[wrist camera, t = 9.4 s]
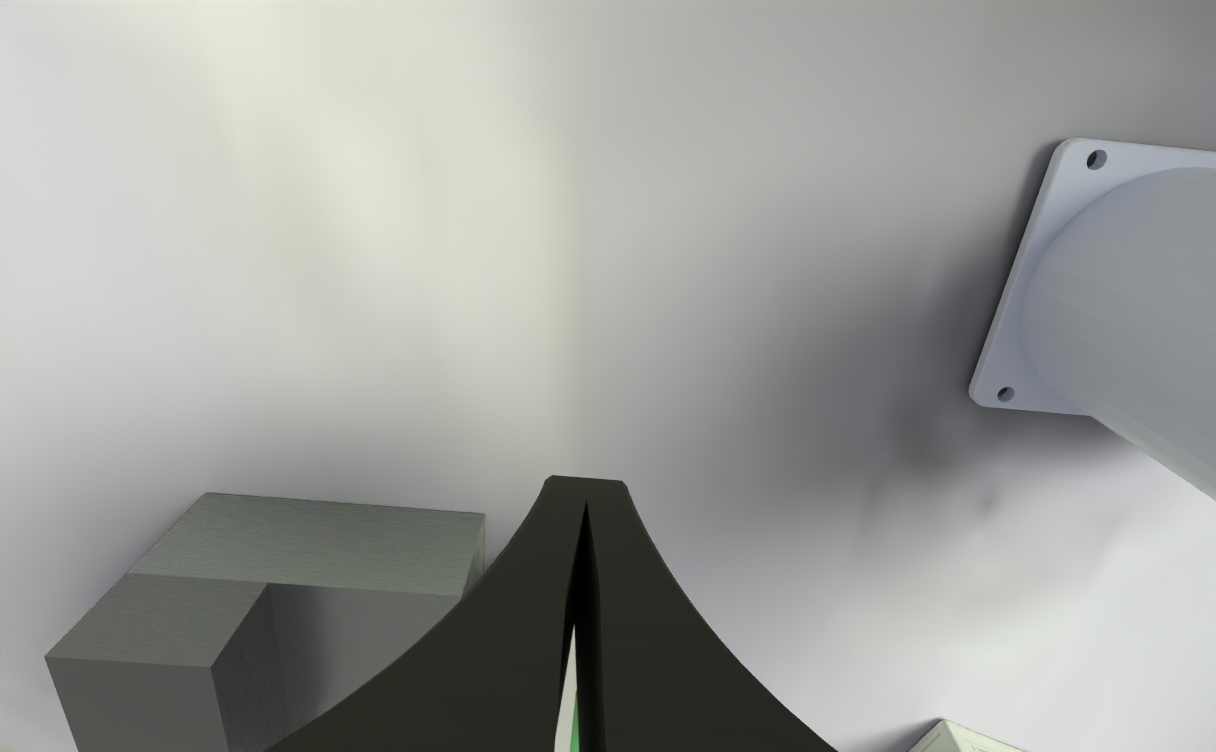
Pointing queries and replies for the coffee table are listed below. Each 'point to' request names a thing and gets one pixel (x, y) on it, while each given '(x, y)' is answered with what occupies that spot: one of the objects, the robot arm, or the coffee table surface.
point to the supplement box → (958, 740)
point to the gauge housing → (258, 621)
